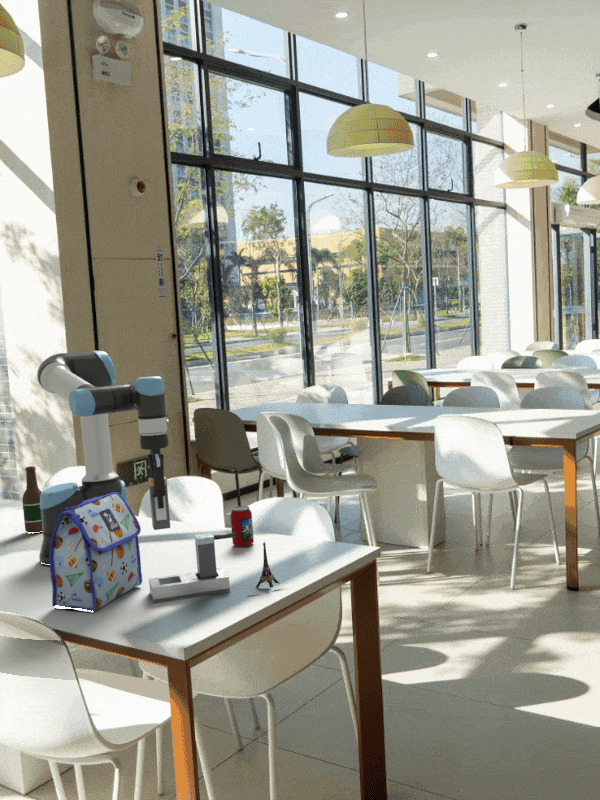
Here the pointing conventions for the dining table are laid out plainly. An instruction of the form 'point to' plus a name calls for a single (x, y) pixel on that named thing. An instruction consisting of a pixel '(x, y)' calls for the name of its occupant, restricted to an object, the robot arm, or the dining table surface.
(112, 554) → the lunch bag
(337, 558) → the dining table surface
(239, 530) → the beverage can
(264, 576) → the eiffel tower figurine
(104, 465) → the robot arm
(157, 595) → the pdu strip
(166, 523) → the plug
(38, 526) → the beer bottle
